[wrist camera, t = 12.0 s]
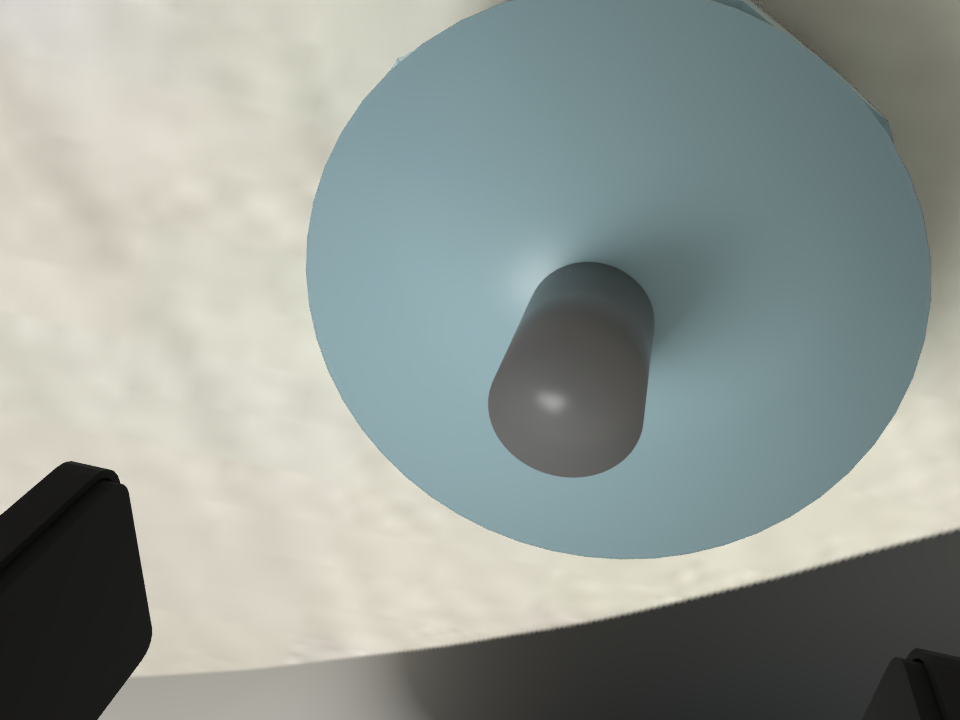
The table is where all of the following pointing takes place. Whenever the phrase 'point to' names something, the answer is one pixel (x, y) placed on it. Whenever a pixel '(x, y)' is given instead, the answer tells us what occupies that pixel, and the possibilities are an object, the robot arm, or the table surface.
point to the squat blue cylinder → (619, 273)
